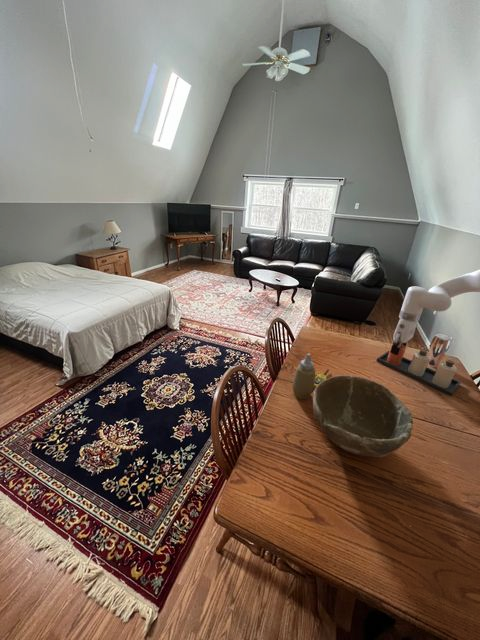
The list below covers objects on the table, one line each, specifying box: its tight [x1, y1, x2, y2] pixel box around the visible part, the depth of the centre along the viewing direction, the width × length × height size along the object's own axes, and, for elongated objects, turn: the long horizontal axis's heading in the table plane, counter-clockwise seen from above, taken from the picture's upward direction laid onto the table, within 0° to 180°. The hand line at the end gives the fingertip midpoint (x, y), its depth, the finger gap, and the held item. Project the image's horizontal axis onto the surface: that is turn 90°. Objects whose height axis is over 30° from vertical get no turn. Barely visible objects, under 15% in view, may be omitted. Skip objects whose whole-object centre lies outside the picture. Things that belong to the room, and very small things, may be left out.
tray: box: [376, 350, 462, 397], centre depth 117 cm, size 30×12×2 cm, turn 39°
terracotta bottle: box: [387, 339, 407, 366], centre depth 122 cm, size 6×6×11 cm
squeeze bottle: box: [291, 353, 316, 400], centre depth 98 cm, size 8×8×18 cm
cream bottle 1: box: [408, 348, 430, 376], centre depth 115 cm, size 6×6×11 cm
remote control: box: [314, 369, 330, 390], centre depth 111 cm, size 5×2×15 cm
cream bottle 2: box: [432, 359, 458, 388], centre depth 109 cm, size 6×6×11 cm
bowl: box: [312, 374, 414, 458], centre depth 81 cm, size 28×27×15 cm
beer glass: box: [427, 332, 454, 369], centre depth 121 cm, size 7×7×15 cm
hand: (397, 351), depth 122 cm, fingers closed on terracotta bottle, 5 cm apart
